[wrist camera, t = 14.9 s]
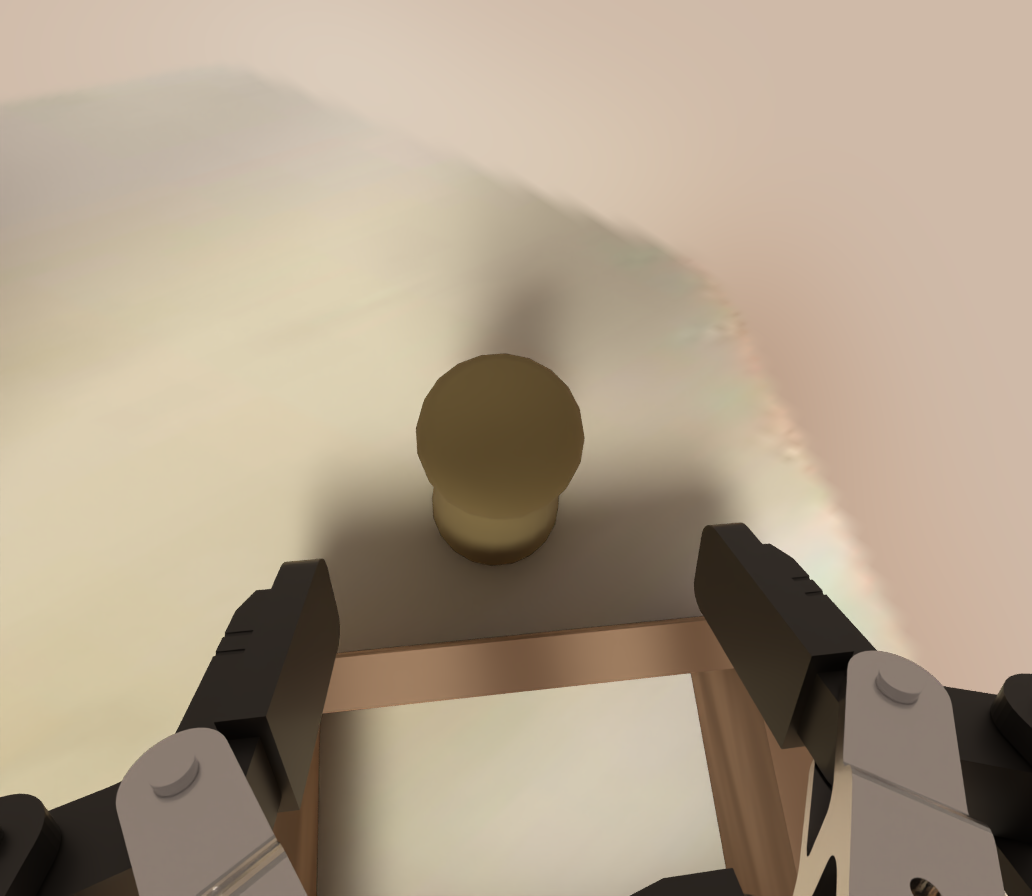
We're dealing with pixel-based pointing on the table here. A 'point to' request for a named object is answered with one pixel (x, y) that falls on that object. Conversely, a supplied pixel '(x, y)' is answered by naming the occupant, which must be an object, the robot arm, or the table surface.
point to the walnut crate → (589, 660)
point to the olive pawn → (498, 454)
